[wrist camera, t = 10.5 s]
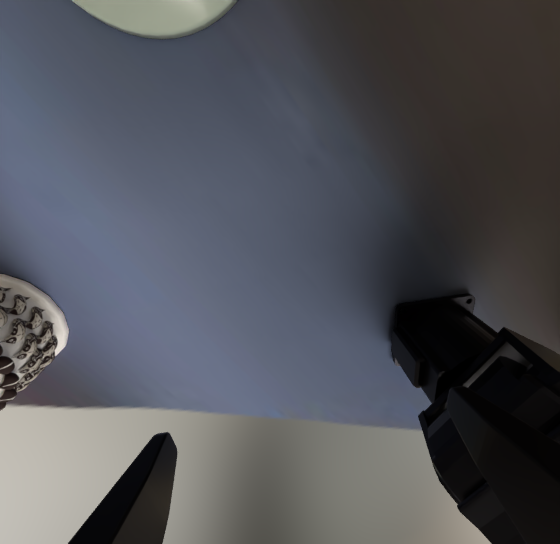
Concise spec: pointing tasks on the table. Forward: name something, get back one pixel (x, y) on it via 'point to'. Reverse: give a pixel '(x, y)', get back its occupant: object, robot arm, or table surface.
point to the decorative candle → (26, 334)
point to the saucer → (157, 15)
